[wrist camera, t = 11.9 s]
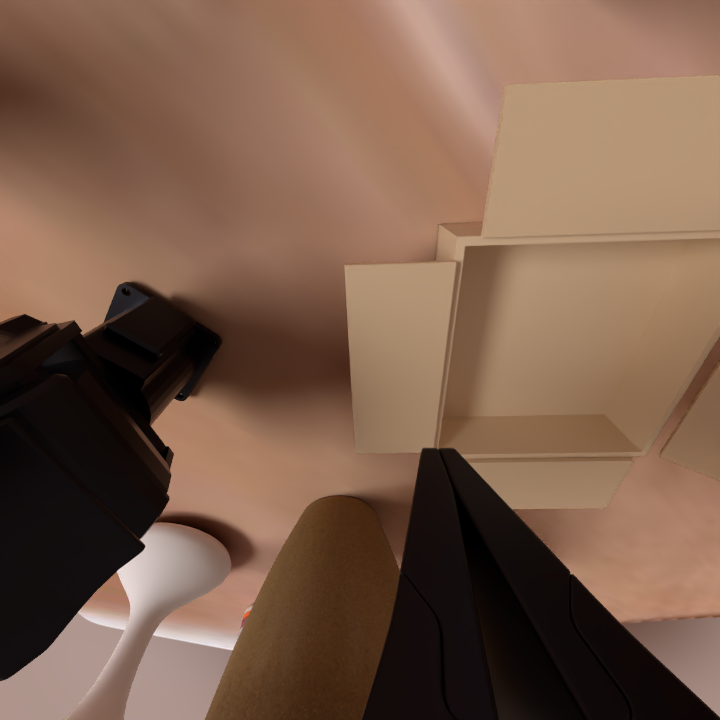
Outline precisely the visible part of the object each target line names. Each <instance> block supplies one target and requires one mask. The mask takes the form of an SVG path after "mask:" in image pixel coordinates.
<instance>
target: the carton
mask: <svg viewBox="0 0 720 720" xmlns="http://www.w3.org/2000/svg"><path fill="white" fill-rule="evenodd" d="M344 269H345V286H346V304H347V321H348V339H349V356H350V374H351V391H352V408H353V426H354V443H355V454H374V453H421V450H422V448H437V449H439V448H454V449H456V450H457V451H458V452H459V453H460V454H461V456H462V457H463V458H464V459H465V460H466V461H467V462H468V463H469V464H470V465H471V466H472V467H473V468H474V469H475V470H476V471H477V473H478V474H479V475H480V476H481V477H482V478H483V479H484V480H485V481H486V482H487V483H488V484H489V485H490V486H491V487H492V489H493V490H494V491H495V492H496V493H497V494H498V495H499V496H500V497H501V498H502V499H503V500H504V501H505V502H506V503H507V505H508V506H509V507H510V508H511V509H586V508H606V506H607V505H608V503H609V501H610V500H611V498H612V496H613V495H614V493H615V491H616V490H617V488H618V486H619V485H620V483H621V481H622V480H623V478H624V476H625V475H626V473H627V471H628V470H629V468H630V466H631V465H632V463H633V461H634V460H633V459H632V458H631V457H629V456H646V455H647V453H648V451H649V450H650V448H651V447H652V445H653V443H654V442H655V440H656V438H657V437H658V435H659V434H660V432H661V430H662V429H663V427H664V426H665V424H666V422H667V421H668V419H669V417H670V416H671V414H672V413H673V411H674V409H675V408H676V406H677V405H678V403H679V401H680V400H681V398H682V396H683V395H684V393H685V392H686V390H687V388H688V387H689V385H690V384H691V382H692V380H693V379H694V377H695V375H696V374H697V372H698V371H699V369H700V367H701V366H702V364H703V363H704V361H705V359H706V358H707V356H708V355H709V353H710V351H711V350H712V348H713V346H714V345H715V343H716V342H717V340H718V338H719V337H720V75H711V76H688V77H666V78H643V79H621V80H599V81H576V82H554V83H531V84H509V85H506V86H504V90H503V96H502V102H501V109H500V115H499V122H498V128H497V135H496V141H495V147H494V154H493V160H492V167H491V173H490V180H489V186H488V192H487V199H486V205H485V212H484V218H483V223H456V224H439V225H438V237H437V248H436V259H435V261H419V262H386V263H353V264H344ZM557 457H600V458H557ZM484 458H527V459H484Z"/></svg>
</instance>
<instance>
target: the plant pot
mask: <svg viewBox="0 0 720 720" xmlns="http://www.w3.org/2000/svg"><path fill="white" fill-rule="evenodd" d="M399 575H400V570H399V568H398V565H397V562H396V560H395V557H394V555H393V552H392V550H391V547H390V545H389V542H388V540H387V538H386V535H385V533H384V530H383V528H382V526H381V524H380V522H379V520H378V517H377V515H376V513H375V511H374V510H373V509H372V508H371V507H370V506H369V505H368V504H366V503H365V502H363V501H361V500H359V499H355V498H352V497H347V496H331V497H325V498H322V499H319V500H317V501H315V502H313V503H312V504H310V505H309V506H308V507H307V508H306V509H305V511H304V512H303V514H302V516H301V517H300V519H299V520H298V522H297V524H296V525H295V527H294V528H293V530H292V532H291V534H290V535H289V537H288V539H287V540H286V542H285V544H284V546H283V547H282V549H281V551H280V553H279V555H278V557H277V558H276V560H275V562H274V564H273V566H272V568H271V570H270V572H269V574H268V576H267V578H266V580H265V582H264V584H263V586H262V588H261V590H260V592H259V594H258V596H257V598H256V600H255V602H254V605H253V607H252V609H251V611H250V613H249V615H248V617H247V620H246V622H245V624H244V626H243V629H242V631H241V633H240V635H239V638H238V640H237V642H236V644H235V647H234V649H233V651H232V654H231V656H230V659H229V661H228V664H227V666H226V668H225V671H224V673H223V676H222V678H221V681H220V683H219V686H218V688H217V691H216V693H215V696H214V698H213V701H212V703H211V706H210V708H209V711H208V713H207V716H206V718H205V720H361V718H362V715H363V712H364V709H365V705H366V702H367V699H368V696H369V692H370V689H371V686H372V683H373V679H374V676H375V673H376V670H377V666H378V663H379V660H380V656H381V653H382V649H383V646H384V642H385V638H386V635H387V631H388V627H389V624H390V619H391V615H392V610H393V605H394V600H395V596H396V590H397V585H398V579H399Z"/></svg>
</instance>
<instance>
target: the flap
mask: <svg viewBox="0 0 720 720" xmlns="http://www.w3.org/2000/svg"><path fill="white" fill-rule="evenodd" d="M659 457H661V458H663V459H666V460H668V461H671V462H673V463H676V464H678V465H681V466H683V467H685V468H688V469H690V470H693V471H695V472H698V473H700V474H703V475H705V476H708V477H710V478H713V479H715V480H718V481H720V360H719V362H718V363H717V365H716V366H715V368H714V369H713V371H712V372H711V374H710V376H709V377H708V379H707V380H706V382H705V383H704V385H703V386H702V388H701V389H700V391H699V393H698V394H697V396H696V397H695V399H694V400H693V402H692V403H691V405H690V406H689V408H688V410H687V411H686V413H685V414H684V416H683V417H682V419H681V420H680V422H679V423H678V425H677V427H676V428H675V430H674V431H673V433H672V434H671V436H670V437H669V439H668V440H667V442H666V444H665V445H664V447H663V448H662V450H661V451H660V456H659Z"/></svg>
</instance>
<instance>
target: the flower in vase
mask: <svg viewBox="0 0 720 720" xmlns="http://www.w3.org/2000/svg"><path fill="white" fill-rule="evenodd" d="M140 540H141V541H142V542H143V543H144V544H145V549H144V550H143V551H142V552H141V553H140V554H139V555H137V556H136V557H135V558H133V559H132V560H131V561H129V562H128V563H127V564H125V565H124V566H123V567H121V568H120V569H119V570H118V571H117V573H118V575H119V578H120V580H121V582H122V585H123V587H124V589H125V591H126V593H127V596H128V598H129V601H130V607H131V611H130V618H129V620H128V623H127V626H126V629H125V631H124V633H123V635H122V637H121V639H120V641H119V643H118V645H117V647H116V649H115V650H114V652H113V654H112V656H111V658H110V660H109V661H108V663H107V664H106V666H105V667H104V669H103V671H102V672H101V674H100V676H99V677H98V679H97V680H96V681H95V683H94V684H93V686H92V687H91V688H90V690H89V691H88V693H87V694H86V695H85V697H84V698H83V699H82V700H81V702H80V703H79V704H78V705H77V706H76V708H75V709H74V710H73V711H72V712H71V713H70V714H69V715H68V716H67V717H66V718H65V719H64V720H124V713H125V708H126V702H127V699H128V696H129V692H130V689H131V685H132V682H133V680H134V677H135V674H136V671H137V668H138V666H139V664H140V661H141V659H142V657H143V654H144V652H145V649H146V647H147V645H148V643H149V641H150V639H151V637H152V635H153V633H154V632H155V630H156V629H157V627H158V625H159V624H160V623H161V622H162V620H163V619H164V618H165V617H166V616H167V615H169V614H170V613H171V612H173V611H174V610H176V609H178V608H180V607H182V606H184V605H186V604H188V603H190V602H192V601H194V600H195V599H197V598H199V597H201V596H203V595H205V594H207V593H208V592H210V591H211V590H213V589H214V588H216V587H217V586H219V585H220V584H221V583H222V582H223V581H224V579H225V578H226V577H227V575H228V574H229V572H230V570H231V560H230V556H229V553H228V551H227V549H226V548H225V547H224V545H223V544H222V543H220V542H219V541H218V540H217V539H215V538H214V537H212V536H211V535H209V534H207V533H205V532H203V531H200V530H198V529H195V528H192V527H188V526H184V525H180V524H174V523H154V524H153V525H152V526H151V528H150V529H149V530H148V531H147V533H146V534H145V535H144V536H143V537H142V538H141V539H140Z"/></svg>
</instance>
